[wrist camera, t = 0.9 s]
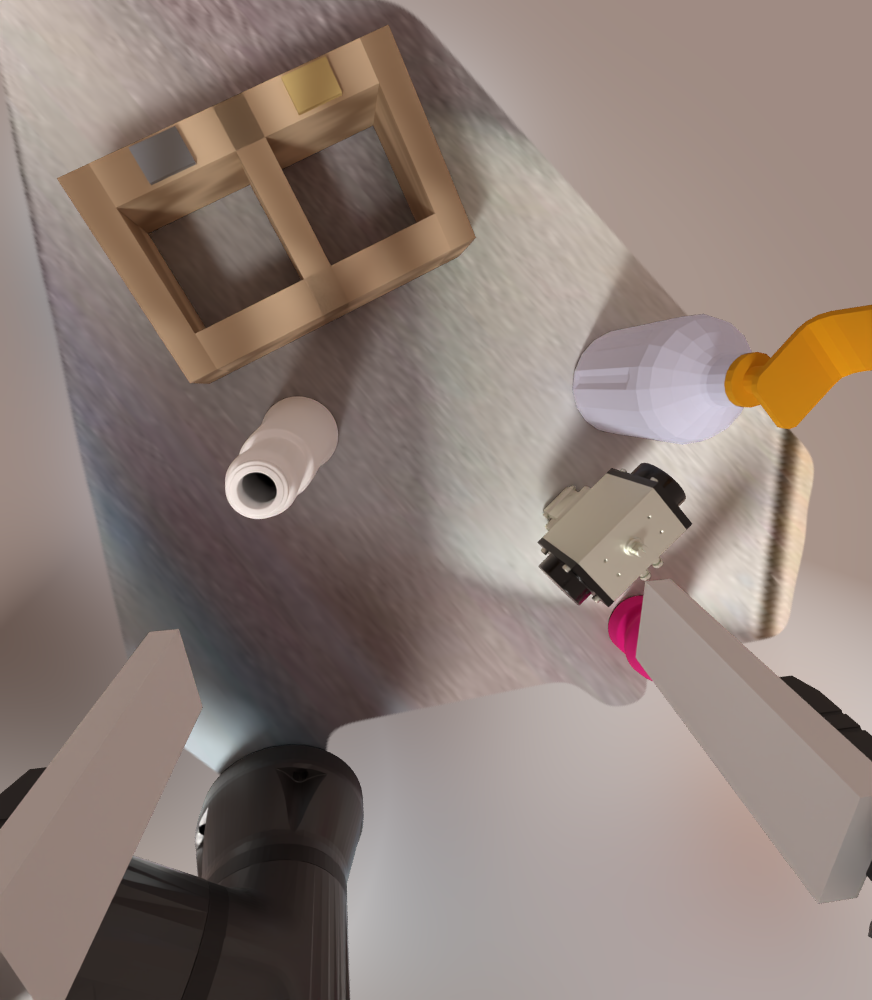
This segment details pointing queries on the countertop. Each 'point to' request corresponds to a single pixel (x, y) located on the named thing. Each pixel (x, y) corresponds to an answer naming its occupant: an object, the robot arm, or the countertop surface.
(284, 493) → the cosmetic bottle
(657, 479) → the pneumatic valve
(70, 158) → the countertop surface
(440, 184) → the wooden compartment tray
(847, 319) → the soap bottle
